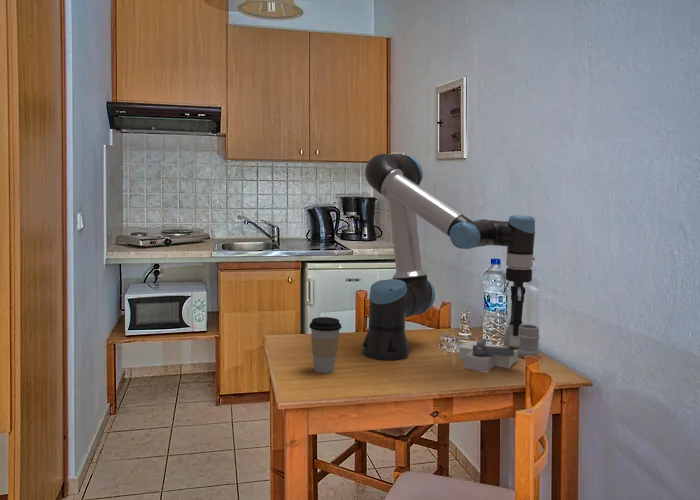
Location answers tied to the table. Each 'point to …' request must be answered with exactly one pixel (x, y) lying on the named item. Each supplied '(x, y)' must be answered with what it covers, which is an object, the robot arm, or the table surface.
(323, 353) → the coffee cup
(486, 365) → the block
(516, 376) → the table surface
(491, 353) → the latch arm
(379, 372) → the table surface
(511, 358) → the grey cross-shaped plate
